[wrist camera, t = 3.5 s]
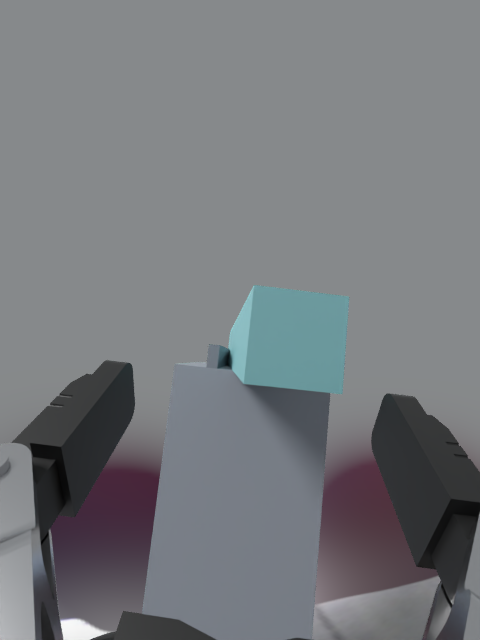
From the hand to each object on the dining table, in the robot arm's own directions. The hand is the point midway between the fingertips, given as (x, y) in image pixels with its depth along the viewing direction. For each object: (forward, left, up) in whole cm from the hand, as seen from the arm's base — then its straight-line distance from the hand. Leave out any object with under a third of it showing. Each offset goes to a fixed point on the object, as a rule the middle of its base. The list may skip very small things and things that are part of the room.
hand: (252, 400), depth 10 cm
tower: (0, +15, -32) cm, 35 cm away
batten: (0, +13, 0) cm, 13 cm away
